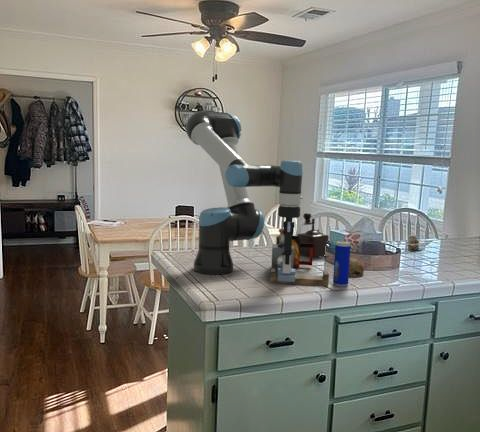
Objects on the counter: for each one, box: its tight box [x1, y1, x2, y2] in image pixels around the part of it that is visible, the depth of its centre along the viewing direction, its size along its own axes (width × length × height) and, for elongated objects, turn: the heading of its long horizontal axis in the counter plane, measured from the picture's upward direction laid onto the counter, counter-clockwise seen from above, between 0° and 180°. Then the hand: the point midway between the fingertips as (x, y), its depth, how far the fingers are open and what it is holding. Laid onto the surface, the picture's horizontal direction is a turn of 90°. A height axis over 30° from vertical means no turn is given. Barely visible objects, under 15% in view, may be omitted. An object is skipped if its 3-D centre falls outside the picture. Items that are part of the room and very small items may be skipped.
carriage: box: [278, 246, 296, 282], centre depth 169 cm, size 6×8×11 cm
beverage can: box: [332, 240, 352, 287], centre depth 167 cm, size 5×5×15 cm
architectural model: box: [406, 234, 422, 251], centre depth 236 cm, size 3×7×7 cm, turn 119°
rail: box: [269, 267, 330, 287], centre depth 169 cm, size 20×6×4 cm, turn 85°
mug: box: [275, 234, 314, 270], centre depth 193 cm, size 10×14×12 cm
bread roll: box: [349, 257, 365, 278], centre depth 184 cm, size 10×10×8 cm
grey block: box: [270, 243, 294, 273], centre depth 182 cm, size 8×9×10 cm
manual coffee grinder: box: [296, 212, 330, 259], centre depth 218 cm, size 16×11×18 cm
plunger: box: [278, 228, 285, 247], centre depth 181 cm, size 4×4×7 cm
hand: (286, 271), depth 169 cm, fingers closed on carriage, 4 cm apart
